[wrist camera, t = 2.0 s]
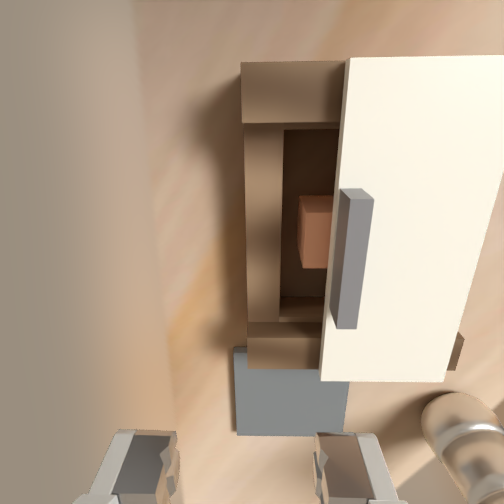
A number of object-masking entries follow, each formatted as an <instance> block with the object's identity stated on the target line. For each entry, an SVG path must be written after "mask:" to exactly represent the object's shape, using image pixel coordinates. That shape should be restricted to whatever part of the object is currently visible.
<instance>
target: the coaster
mask: <svg viewBox="0 0 504 504" xmlns="http://www.w3.org/2000/svg"><path fill="white" fill-rule="evenodd" d="M233 356H234V378H235V401H236V424H237V435H238V436H315V434H316V432H343V425H344V418H345V411H346V403H347V396H348V389H349V382H350V381H321V380H320V376H319V370H316V369H248V365H247V347H234V352H233Z"/></svg>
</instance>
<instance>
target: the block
mask: <svg viewBox="0 0 504 504" xmlns="http://www.w3.org/2000/svg"><path fill="white" fill-rule="evenodd" d="M333 201H334V196H299V209H298V231H297V246H298V250H299V254H300V258H301V262H302V266H303V268H328V258H329V247H330V235H331V224H332V212H333Z"/></svg>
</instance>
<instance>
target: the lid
mask: <svg viewBox="0 0 504 504" xmlns="http://www.w3.org/2000/svg"><path fill="white" fill-rule="evenodd" d="M503 172H504V55H480V56H422V57H364V58H349V59H347V60H346V64H345V75H344V87H343V98H342V110H341V121H340V132H339V144H338V155H337V167H336V178H335V189H334V201H333V212H332V224H331V235H330V247H329V258H328V269H327V281H326V292H325V304H324V315H323V326H322V338H321V349H320V361H319V376H320V380H321V381H361V382H443V381H444V377H445V374H446V370H447V367H448V363H449V360H450V356H451V353H452V349H453V346H454V342H455V339H456V335H457V332H458V328H459V325H460V321H461V318H462V315H463V311H464V308H465V304H466V301H467V297H468V294H469V290H470V287H471V283H472V280H473V276H474V273H475V269H476V266H477V262H478V259H479V255H480V252H481V248H482V245H483V241H484V238H485V234H486V231H487V227H488V224H489V220H490V217H491V213H492V210H493V206H494V203H495V199H496V196H497V192H498V189H499V185H500V182H501V179H502V175H503Z"/></svg>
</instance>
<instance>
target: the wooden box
mask: <svg viewBox="0 0 504 504" xmlns="http://www.w3.org/2000/svg"><path fill="white" fill-rule="evenodd" d="M345 64H346V61H297V62H241V105H242V123H244V165H245V213H246V260H247V307H248V327H247V365H248V369H316V370H319V361H320V349H321V338H322V326H323V315H324V304H325V297H280V262H281V220H282V179H283V137H284V129H340V121H341V110H342V98H343V87H344V75H345ZM463 342H464V338H463V337H462V335H461V334H460V333H459V332H457V335H456V339H455V342H454V346H453V349H452V353H451V356H450V360H449V363H448V367H447V370H454V371H455V369H456V366H457V362H458V359H459V356H460V352H461V349H462V346H463Z"/></svg>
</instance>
